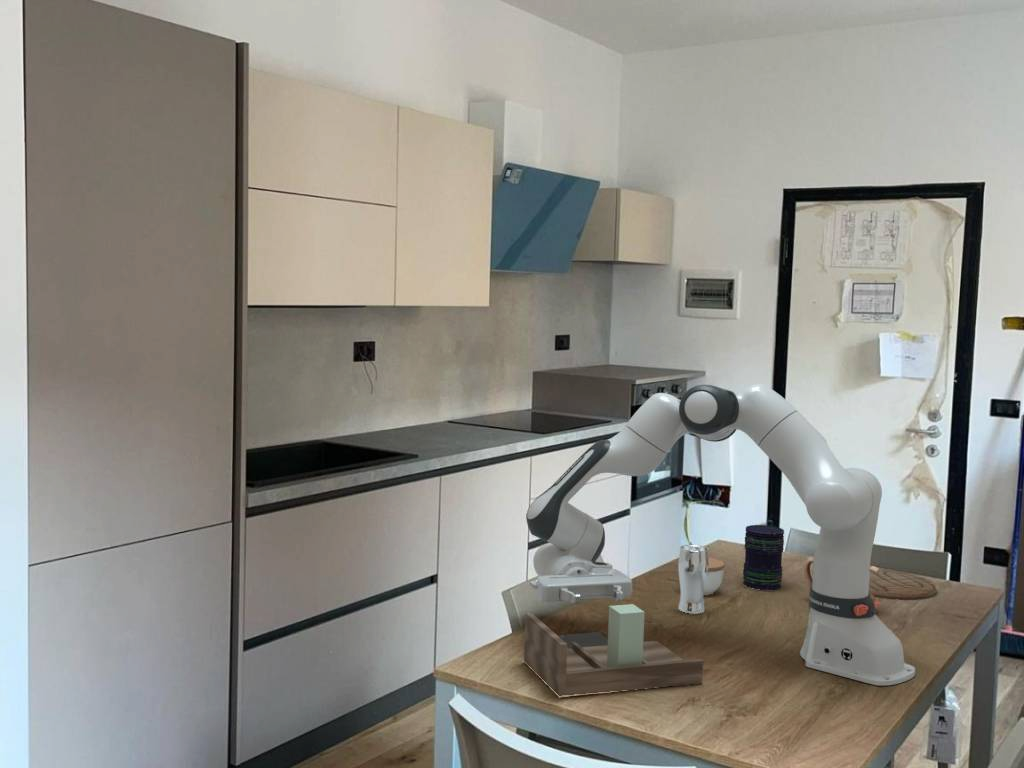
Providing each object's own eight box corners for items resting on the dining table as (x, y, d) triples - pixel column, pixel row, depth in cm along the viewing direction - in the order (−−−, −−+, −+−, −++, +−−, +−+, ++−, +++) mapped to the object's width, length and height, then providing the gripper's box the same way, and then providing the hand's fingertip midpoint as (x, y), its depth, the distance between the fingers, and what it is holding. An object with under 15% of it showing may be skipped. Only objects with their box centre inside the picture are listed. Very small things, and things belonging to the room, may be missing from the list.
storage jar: (734, 582, 264) (737, 526, 263) (764, 579, 268) (767, 523, 267) (758, 592, 255) (762, 534, 254) (789, 589, 259) (792, 532, 258)
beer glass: (697, 616, 233) (700, 553, 232) (671, 610, 238) (673, 548, 236) (711, 610, 239) (714, 547, 238) (684, 604, 243) (687, 542, 242)
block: (606, 667, 194) (609, 605, 193) (630, 664, 195) (633, 604, 194) (617, 676, 189) (620, 613, 188) (641, 674, 191) (644, 611, 190)
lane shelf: (523, 662, 200) (525, 613, 200) (656, 650, 210) (658, 603, 209) (559, 698, 183) (561, 644, 182) (701, 683, 192) (704, 632, 191)
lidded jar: (692, 583, 262) (694, 548, 261) (730, 592, 255) (732, 555, 254) (671, 592, 253) (673, 555, 253) (709, 601, 247) (711, 563, 246)
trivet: (872, 603, 250) (872, 596, 250) (816, 576, 274) (816, 569, 274) (957, 598, 256) (958, 591, 256) (895, 572, 280) (895, 566, 280)
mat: (542, 638, 215) (542, 636, 215) (598, 633, 219) (598, 631, 219) (563, 657, 204) (563, 655, 204) (622, 652, 208) (622, 650, 208)
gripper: (527, 566, 212) (551, 585, 199) (616, 562, 219) (644, 580, 206) (526, 596, 213) (549, 616, 200) (614, 591, 220) (643, 610, 206)
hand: (598, 598), depth 203 cm, fingers open, 8 cm apart
